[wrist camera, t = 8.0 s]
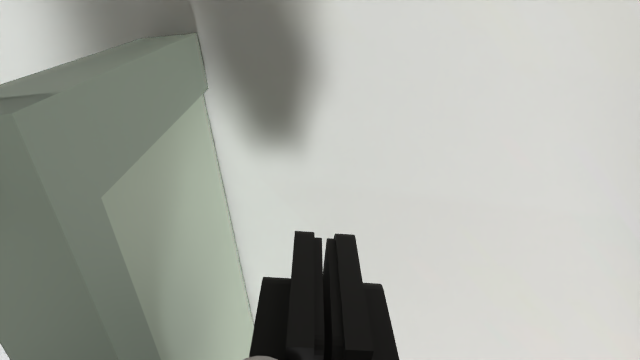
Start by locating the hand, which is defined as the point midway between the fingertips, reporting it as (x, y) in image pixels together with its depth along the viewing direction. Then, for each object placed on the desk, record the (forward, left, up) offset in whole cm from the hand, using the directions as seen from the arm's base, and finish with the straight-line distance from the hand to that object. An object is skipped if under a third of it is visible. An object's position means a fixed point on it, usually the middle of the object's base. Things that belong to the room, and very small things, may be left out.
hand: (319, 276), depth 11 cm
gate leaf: (+1, +4, -3) cm, 5 cm away
